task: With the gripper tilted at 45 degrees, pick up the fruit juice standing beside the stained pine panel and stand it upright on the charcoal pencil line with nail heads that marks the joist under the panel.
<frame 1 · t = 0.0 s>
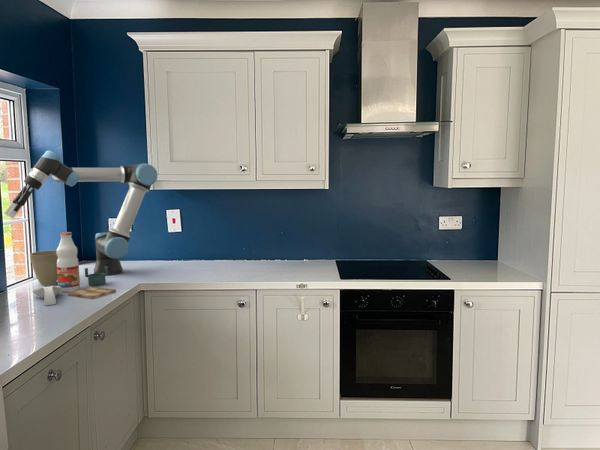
hand: (8, 216, 228), 36 cm above the countertop, tool tilted 35°, fingers open, 13 cm apart
spoon rest: (48, 300, 215), on the countertop
plant pot: (48, 284, 246), on the countertop
subfloor panel: (92, 293, 224), on the countertop
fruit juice: (69, 290, 231), on the countertop
bracket: (97, 285, 243), on the countertop
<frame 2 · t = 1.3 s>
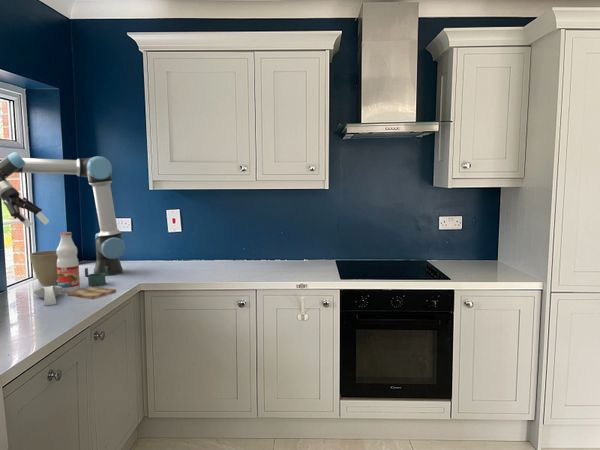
hand: (39, 224, 228), 32 cm above the countertop, tool tilted 45°, fingers open, 13 cm apart
nothing on the countertop moved.
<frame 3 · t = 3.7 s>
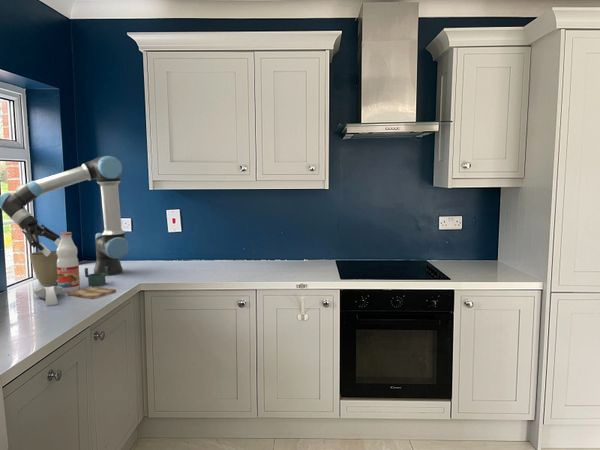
hand: (57, 252, 229), 19 cm above the countertop, tool tilted 45°, fingers open, 13 cm apart
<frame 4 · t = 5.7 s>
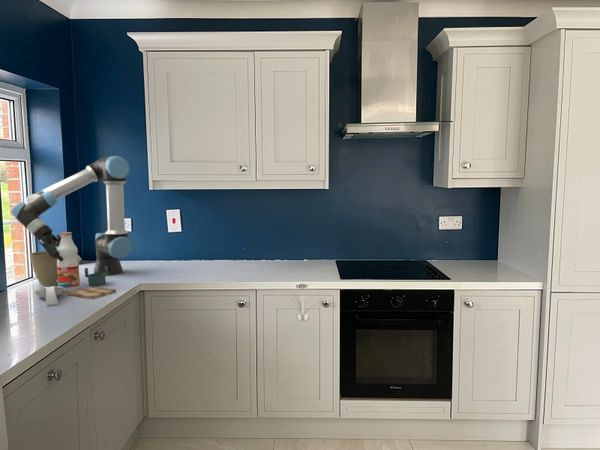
hand: (74, 263, 229), 13 cm above the countertop, tool tilted 45°, fingers closed on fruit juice, 9 cm apart
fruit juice: (69, 290, 231), on the countertop, touching gripper
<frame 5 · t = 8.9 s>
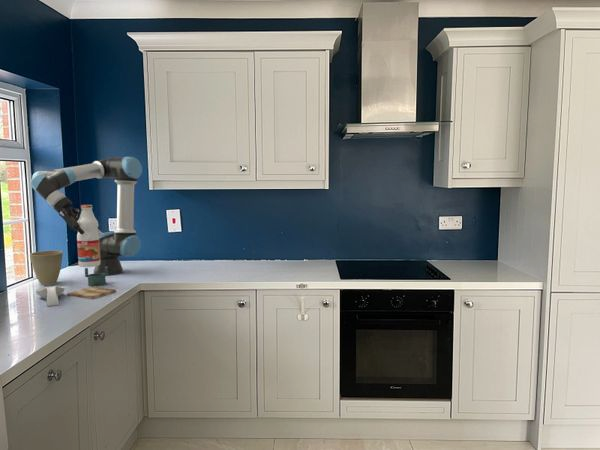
hand: (95, 236, 221), 27 cm above the countertop, tool tilted 45°, fingers closed on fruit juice, 9 cm apart
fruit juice: (89, 265, 223), point 13 cm above the countertop, touching gripper
when the fingers open (16 cm above the countertop, at t = 12.0 s): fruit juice drops 1 cm, resting on subfloor panel.
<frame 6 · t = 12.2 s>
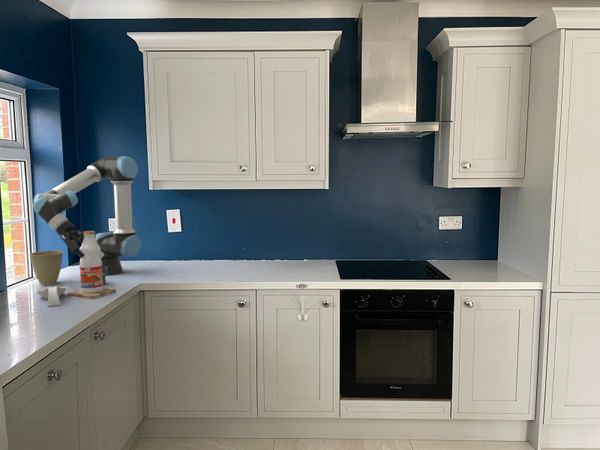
hand: (96, 259, 222), 16 cm above the countertop, tool tilted 45°, fingers open, 11 cm apart
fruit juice: (92, 291, 225), point 1 cm above the countertop, touching subfloor panel
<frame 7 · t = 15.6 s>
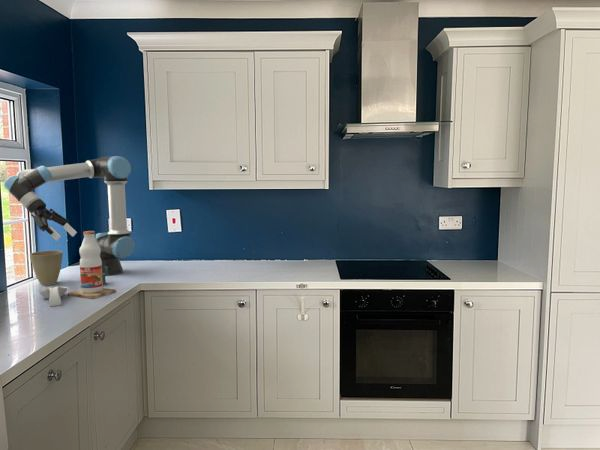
hand: (66, 236, 222), 27 cm above the countertop, tool tilted 45°, fingers open, 13 cm apart
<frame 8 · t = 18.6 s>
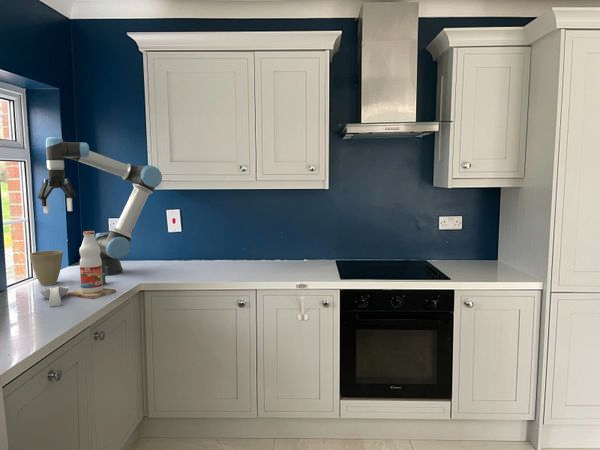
hand: (58, 212, 240), 37 cm above the countertop, tool pointing down, fingers open, 13 cm apart
at the end: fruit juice inside the target area on the subfloor panel (0.3 cm from its centre), point 1.0 cm above the subfloor panel's base; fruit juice tilted 0°; the gripper is holding nothing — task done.
